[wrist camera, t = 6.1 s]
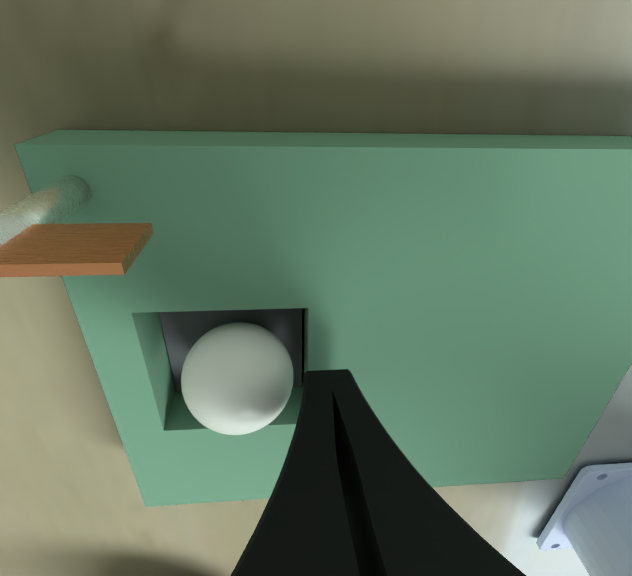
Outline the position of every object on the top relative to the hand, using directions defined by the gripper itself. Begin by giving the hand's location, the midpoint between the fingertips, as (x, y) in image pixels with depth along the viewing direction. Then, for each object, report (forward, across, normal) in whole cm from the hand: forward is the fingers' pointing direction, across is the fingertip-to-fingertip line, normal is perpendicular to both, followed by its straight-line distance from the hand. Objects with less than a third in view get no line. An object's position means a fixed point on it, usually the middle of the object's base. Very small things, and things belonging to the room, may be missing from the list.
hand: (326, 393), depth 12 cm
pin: (+3, +5, -6) cm, 8 cm away
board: (+3, -2, 0) cm, 4 cm away
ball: (+1, +4, 0) cm, 5 cm away
